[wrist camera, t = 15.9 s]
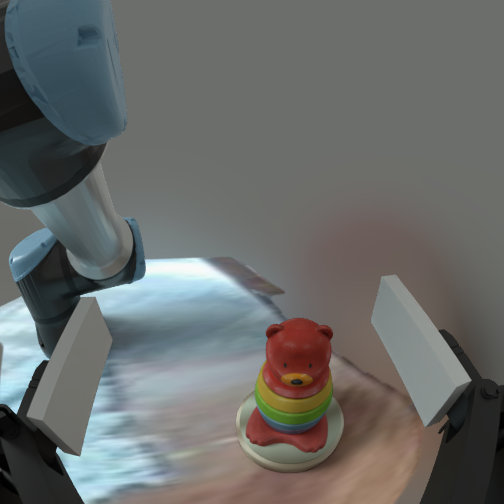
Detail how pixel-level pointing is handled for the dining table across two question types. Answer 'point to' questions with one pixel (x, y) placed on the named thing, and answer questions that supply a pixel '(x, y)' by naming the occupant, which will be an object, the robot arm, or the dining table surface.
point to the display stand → (288, 455)
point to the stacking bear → (293, 387)
